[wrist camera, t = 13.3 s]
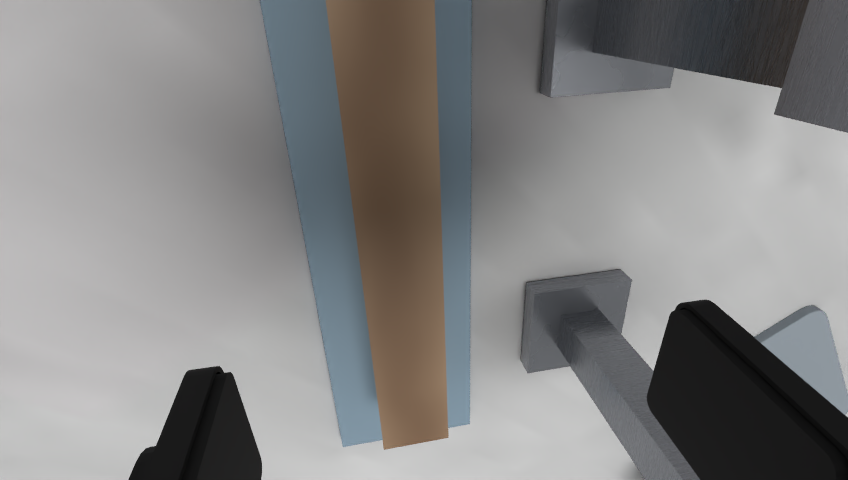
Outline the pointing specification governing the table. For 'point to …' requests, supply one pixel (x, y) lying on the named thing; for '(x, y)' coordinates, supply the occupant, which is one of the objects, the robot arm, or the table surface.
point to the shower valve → (809, 352)
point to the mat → (332, 206)
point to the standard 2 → (703, 49)
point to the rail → (396, 203)
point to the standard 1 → (600, 361)
